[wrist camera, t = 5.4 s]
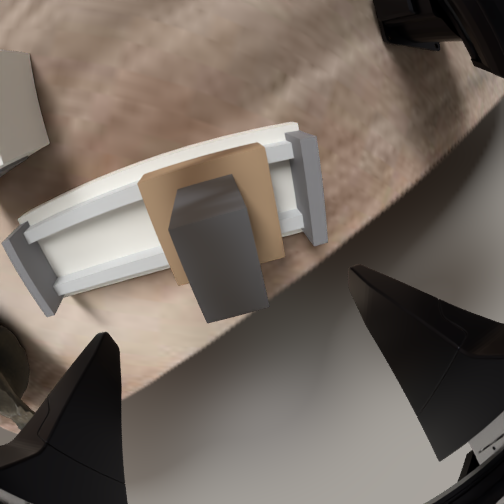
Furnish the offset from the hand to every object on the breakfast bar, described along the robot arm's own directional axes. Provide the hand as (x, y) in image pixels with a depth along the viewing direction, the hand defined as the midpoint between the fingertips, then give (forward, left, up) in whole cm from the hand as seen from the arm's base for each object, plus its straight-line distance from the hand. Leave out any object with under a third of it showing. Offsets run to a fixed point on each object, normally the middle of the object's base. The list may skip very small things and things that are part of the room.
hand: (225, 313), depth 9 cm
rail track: (+4, 0, -12) cm, 13 cm away
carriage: (0, 0, -9) cm, 9 cm away
